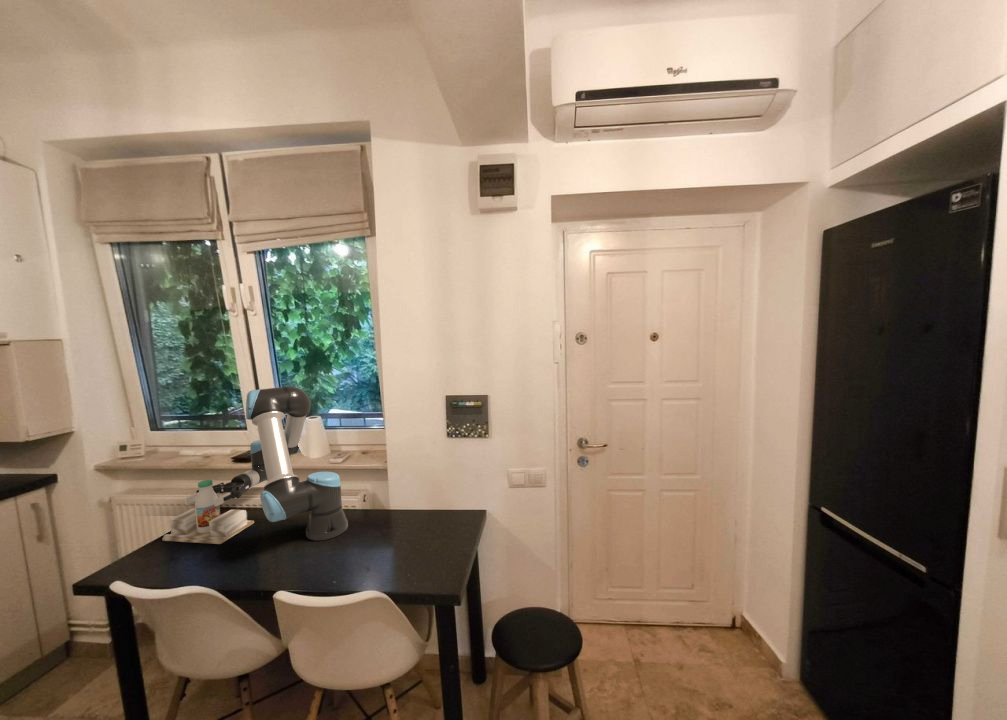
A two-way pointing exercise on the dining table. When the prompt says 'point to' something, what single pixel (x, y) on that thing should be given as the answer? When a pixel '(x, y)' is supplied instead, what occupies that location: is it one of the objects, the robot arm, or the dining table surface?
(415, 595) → the dining table surface
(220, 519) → the rail board
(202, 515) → the milk bottle
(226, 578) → the dining table surface
